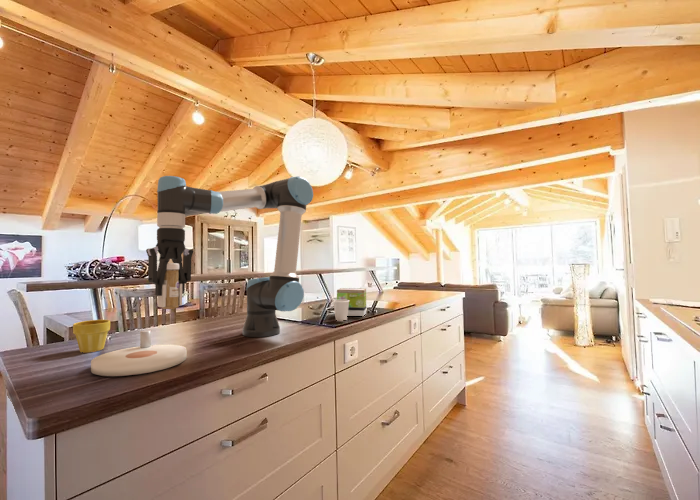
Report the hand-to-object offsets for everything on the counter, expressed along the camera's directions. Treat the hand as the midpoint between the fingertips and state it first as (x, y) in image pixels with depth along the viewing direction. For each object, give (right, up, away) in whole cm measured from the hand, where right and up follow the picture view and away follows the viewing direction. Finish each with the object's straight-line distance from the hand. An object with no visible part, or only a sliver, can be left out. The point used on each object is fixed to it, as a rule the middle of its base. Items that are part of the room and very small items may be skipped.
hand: (170, 305), depth 103 cm
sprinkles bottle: (0, -1, 0) cm, 1 cm away
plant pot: (-36, -18, +16) cm, 43 cm away
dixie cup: (+50, -19, +70) cm, 88 cm away
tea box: (+55, -19, +85) cm, 103 cm away
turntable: (-8, -17, -1) cm, 19 cm away
